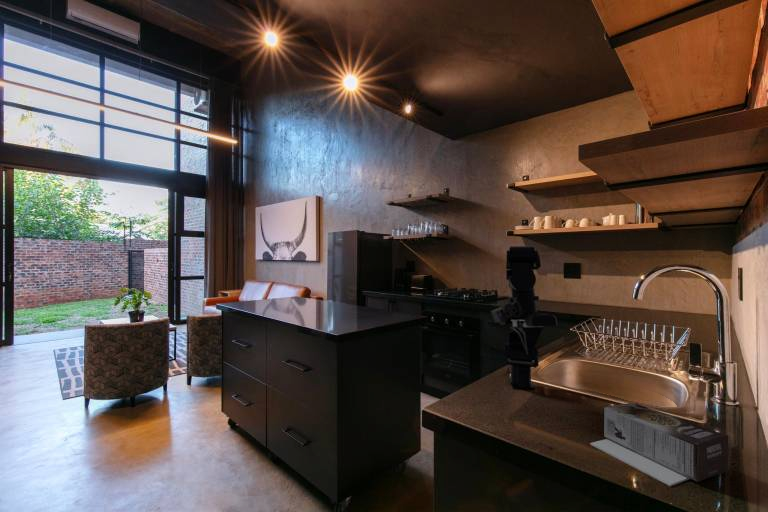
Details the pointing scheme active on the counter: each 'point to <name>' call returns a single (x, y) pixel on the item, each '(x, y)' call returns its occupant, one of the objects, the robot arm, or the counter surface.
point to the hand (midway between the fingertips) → (529, 354)
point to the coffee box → (668, 440)
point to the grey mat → (640, 462)
